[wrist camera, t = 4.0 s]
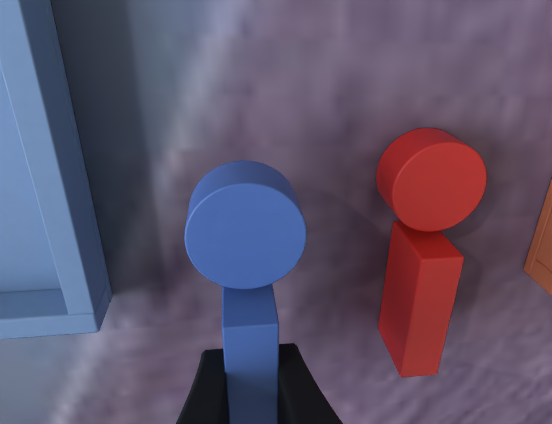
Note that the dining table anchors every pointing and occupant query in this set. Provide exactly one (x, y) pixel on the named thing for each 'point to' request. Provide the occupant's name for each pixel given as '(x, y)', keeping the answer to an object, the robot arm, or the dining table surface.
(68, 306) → the blue tray
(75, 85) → the dining table surface
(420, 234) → the red spoon
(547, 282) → the terracotta tray
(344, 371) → the dining table surface
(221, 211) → the blue spoon
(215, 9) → the dining table surface
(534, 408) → the dining table surface
